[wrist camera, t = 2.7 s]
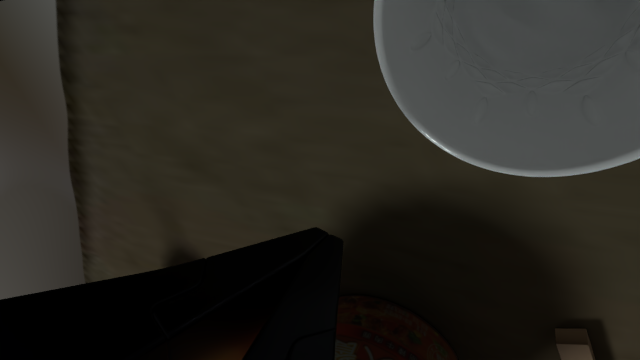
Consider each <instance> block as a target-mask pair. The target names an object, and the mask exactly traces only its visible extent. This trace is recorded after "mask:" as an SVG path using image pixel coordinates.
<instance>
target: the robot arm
mask: <svg viewBox="0 0 640 360" xmlns="http://www.w3.org/2000/svg"><path fill="white" fill-rule="evenodd" d="M0 1H3V0H0ZM342 253H343V240H342V239H340V238H338V237H336V236H334V235H329V234H328V233H327V232H325V231H323V230H321V229H319V228H317V227H315V228H311V229H307V230H303V231H300V232H296V233H293V234H289V235H286V236H282V237H279V238H275V239H271V240H268V241H264V242H261V243H257V244H254V245H250V246H247V247H243V248H239V249H236V250H232V251H229V252H225V253H222V254H218V255H215V256H211V257H208V258H207V259H205V258H202V259H199V260H195V261H192V262H188V263H184V264H180V265H176V266H172V267H168V268H163V269H158V270H154V271H149V272H144V273H139V274H134V275H128V276H123V277H118V278H112V279H107V280H102V281H97V282H91V283H86V284H81V285H76V286H70V287H65V288H60V289H55V290H49V291H44V292H39V293H34V294H28V295H23V296H18V297H12V298H8V299H2V300H0V360H335V343H336V327H337V315H338V302H339V290H340V278H341V266H342Z"/></svg>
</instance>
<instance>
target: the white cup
mask: <svg viewBox="0 0 640 360" xmlns="http://www.w3.org/2000/svg"><path fill="white" fill-rule="evenodd" d="M373 21H374V38H375V45H376V51H377V56H378V60H379V64H380V67H381V71H382V74H383V76H384V79H385V82H386V84H387V86H388V88H389V90H390V92H391V94H392V96H393V98H394V100H395V101H396V103H397V105H398V106H399V108H400V109H401V111H402V112H403V113H404V115H405V116H406V117H407V118H408V120H409V121H410V122H411V123H412V124H413V125H414V126H415V127H416V128H417V129H418V130H419V131H420V132H421V133H422V134H423V135H424V136H425V137H426V138H428V139H429V140H430V141H431V142H433V143H434V144H435V145H437V146H438V147H440V148H441V149H443V150H444V151H446V152H448V153H449V154H451V155H453V156H455V157H457V158H459V159H461V160H463V161H465V162H468V163H470V164H473V165H475V166H478V167H481V168H484V169H488V170H491V171H495V172H500V173H505V174H511V175H518V176H529V177H560V176H571V175H579V174H585V173H591V172H596V171H600V170H604V169H608V168H612V167H616V166H619V165H622V164H625V163H628V162H631V161H634V160H637V159H639V158H640V0H374V16H373Z"/></svg>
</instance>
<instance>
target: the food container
mask: <svg viewBox="0 0 640 360" xmlns="http://www.w3.org/2000/svg"><path fill="white" fill-rule="evenodd" d="M335 360H458V358H457V356H456V354H455V352H454V350H453V348H452V347H451V346H450V344H449V343H448V342H447V340H446V339H445V338H444V337H443V336H442V335H441V334H440V333H439V332H438V331H437V330H436V329H435V328H434V327H432V326H431V325H430V324H429V323H427V322H426V321H425V320H423V319H422V318H421V317H419V316H418V315H416V314H414V313H413V312H411V311H409V310H407V309H405V308H403V307H401V306H399V305H396V304H394V303H392V302H389V301H386V300H382V299H379V298H376V297H371V296H363V295H349V296H340V297H339V302H338V315H337V327H336V343H335Z"/></svg>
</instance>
